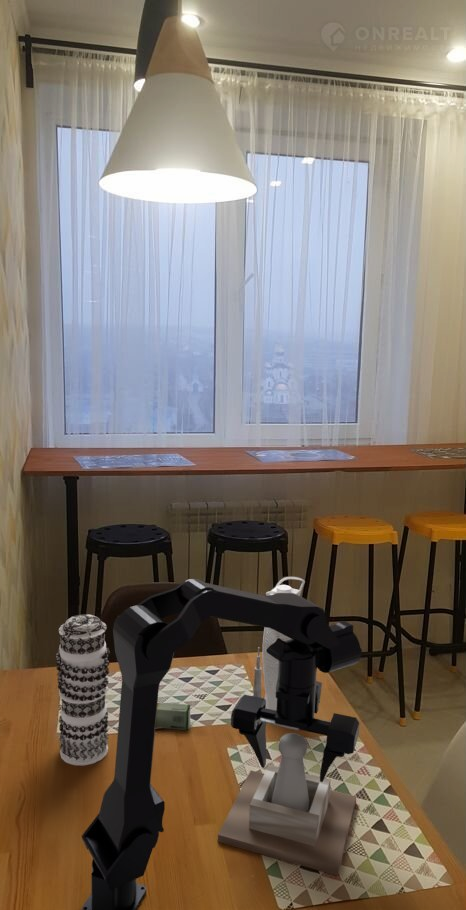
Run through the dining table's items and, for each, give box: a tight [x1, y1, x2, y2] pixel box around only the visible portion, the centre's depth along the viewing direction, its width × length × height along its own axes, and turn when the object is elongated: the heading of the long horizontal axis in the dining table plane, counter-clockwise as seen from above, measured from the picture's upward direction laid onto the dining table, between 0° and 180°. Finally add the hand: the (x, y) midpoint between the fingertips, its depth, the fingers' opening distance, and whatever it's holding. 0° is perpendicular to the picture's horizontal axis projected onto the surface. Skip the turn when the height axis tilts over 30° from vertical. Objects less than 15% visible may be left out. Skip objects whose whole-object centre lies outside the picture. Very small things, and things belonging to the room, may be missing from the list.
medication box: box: [155, 702, 191, 731], centre depth 130 cm, size 12×3×4 cm, turn 85°
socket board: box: [217, 764, 357, 877], centre depth 105 cm, size 16×18×5 cm
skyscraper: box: [252, 576, 306, 710], centre depth 133 cm, size 8×8×28 cm
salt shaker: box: [271, 732, 309, 812], centre depth 104 cm, size 6×6×13 cm
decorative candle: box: [55, 613, 111, 767], centre depth 119 cm, size 9×9×25 cm
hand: (292, 773), depth 104 cm, fingers open, 9 cm apart
